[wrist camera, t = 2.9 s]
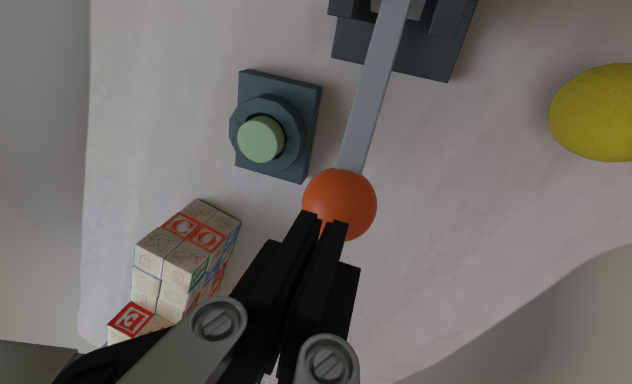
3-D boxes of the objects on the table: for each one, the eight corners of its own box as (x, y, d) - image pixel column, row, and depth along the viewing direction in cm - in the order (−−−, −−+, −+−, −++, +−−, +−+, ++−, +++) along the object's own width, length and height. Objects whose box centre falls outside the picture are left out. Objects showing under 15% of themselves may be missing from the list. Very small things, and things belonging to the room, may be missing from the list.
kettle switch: (365, 242, 15) (364, 261, 11) (302, 223, 15) (285, 235, 12) (448, -37, 13) (473, -103, 10) (376, -48, 14) (379, -115, 11)
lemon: (647, 67, 20) (771, 86, 13) (594, 145, 23) (674, 195, 16) (557, 50, 21) (629, 59, 14) (517, 127, 24) (560, 167, 17)
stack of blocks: (195, 196, 36) (106, 265, 25) (242, 220, 35) (172, 300, 25) (172, 301, 47) (104, 379, 36) (208, 320, 47) (149, 404, 36)
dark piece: (247, 68, 27) (227, 73, 24) (322, 86, 26) (311, 93, 23) (243, 159, 32) (225, 173, 29) (306, 177, 31) (295, 193, 28)
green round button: (247, 110, 26) (237, 115, 24) (287, 121, 25) (279, 126, 24) (245, 150, 27) (235, 156, 26) (282, 160, 27) (275, 168, 25)
